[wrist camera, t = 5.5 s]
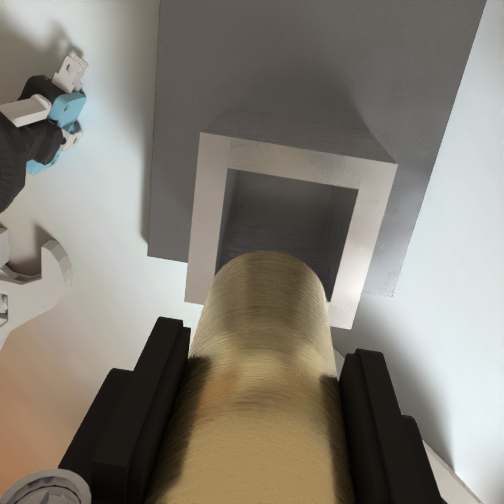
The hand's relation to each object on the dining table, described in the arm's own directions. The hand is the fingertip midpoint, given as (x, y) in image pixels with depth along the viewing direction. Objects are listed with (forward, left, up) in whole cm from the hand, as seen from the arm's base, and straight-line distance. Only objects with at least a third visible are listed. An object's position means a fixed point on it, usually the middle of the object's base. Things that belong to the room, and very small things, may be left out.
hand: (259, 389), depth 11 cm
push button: (+13, -2, -17) cm, 22 cm away
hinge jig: (0, -4, -17) cm, 18 cm away
